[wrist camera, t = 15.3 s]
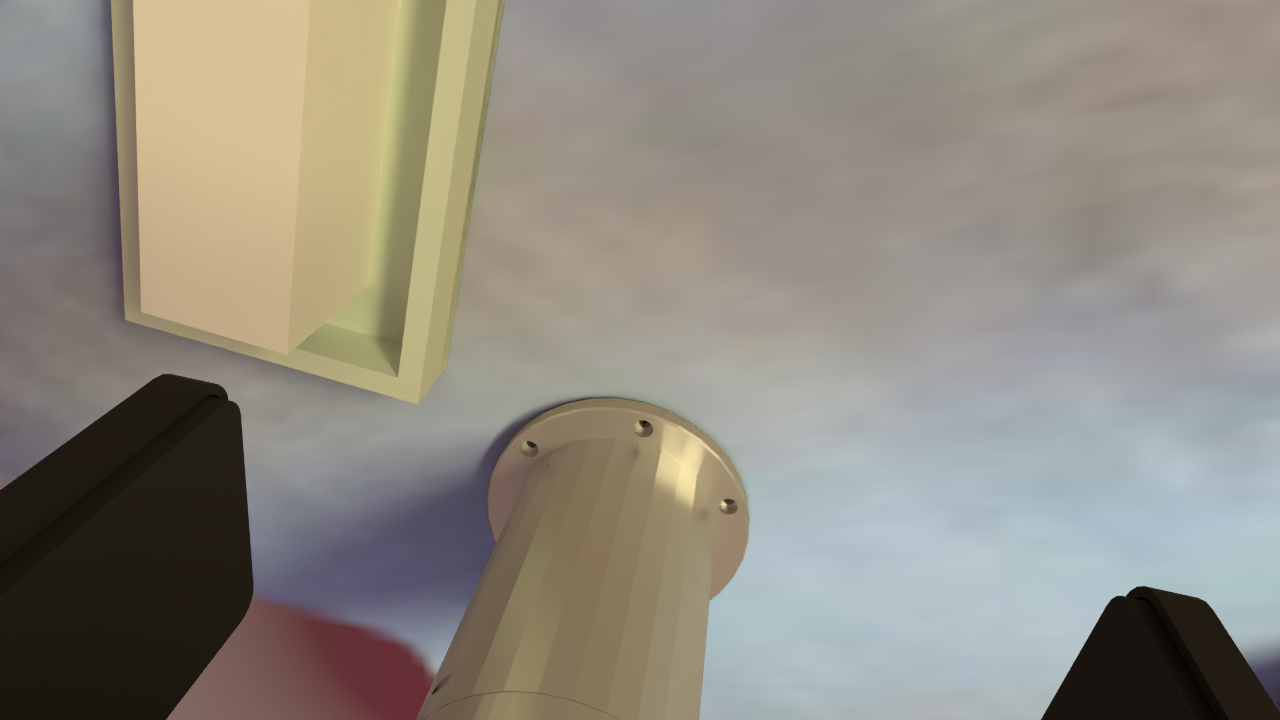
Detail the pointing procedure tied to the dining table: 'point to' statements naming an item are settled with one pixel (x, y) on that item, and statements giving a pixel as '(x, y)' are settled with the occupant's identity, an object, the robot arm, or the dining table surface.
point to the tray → (407, 208)
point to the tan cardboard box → (259, 159)
